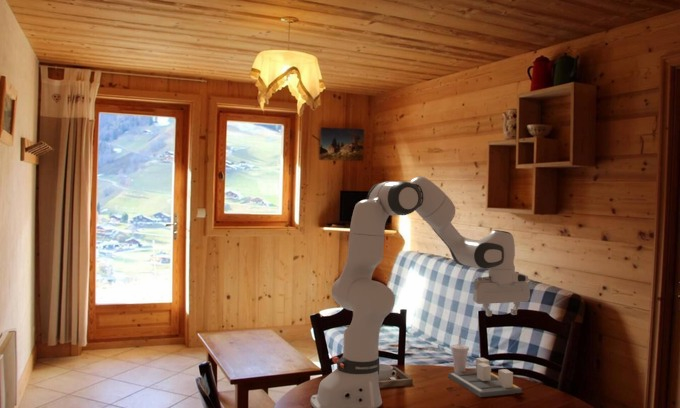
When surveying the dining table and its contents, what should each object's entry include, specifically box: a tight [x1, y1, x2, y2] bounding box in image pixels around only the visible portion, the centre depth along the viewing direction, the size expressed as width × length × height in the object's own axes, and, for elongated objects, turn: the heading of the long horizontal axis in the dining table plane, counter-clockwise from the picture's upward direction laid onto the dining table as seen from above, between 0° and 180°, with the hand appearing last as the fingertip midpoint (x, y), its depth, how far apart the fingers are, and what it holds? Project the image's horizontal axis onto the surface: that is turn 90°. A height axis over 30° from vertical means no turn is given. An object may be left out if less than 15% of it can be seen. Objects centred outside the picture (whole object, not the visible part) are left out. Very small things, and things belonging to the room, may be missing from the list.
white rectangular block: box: [477, 363, 492, 381], centre depth 192 cm, size 3×4×5 cm
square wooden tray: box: [379, 366, 414, 389], centre depth 195 cm, size 15×15×2 cm
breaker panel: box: [447, 357, 523, 398], centre depth 192 cm, size 16×21×7 cm
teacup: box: [378, 363, 397, 381], centre depth 195 cm, size 10×10×5 cm
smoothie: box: [451, 334, 470, 373], centre depth 206 cm, size 6×6×14 cm
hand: (501, 315), depth 194 cm, fingers open, 8 cm apart
